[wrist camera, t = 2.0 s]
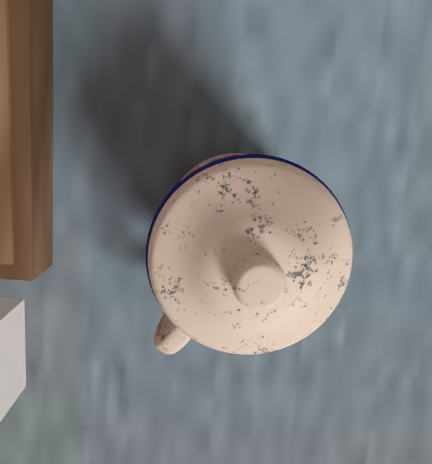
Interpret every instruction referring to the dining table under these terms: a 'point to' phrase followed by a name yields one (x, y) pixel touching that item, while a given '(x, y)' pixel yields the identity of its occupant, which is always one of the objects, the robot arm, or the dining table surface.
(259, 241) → the teacup with lid
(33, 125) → the walnut base
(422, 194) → the dining table surface
